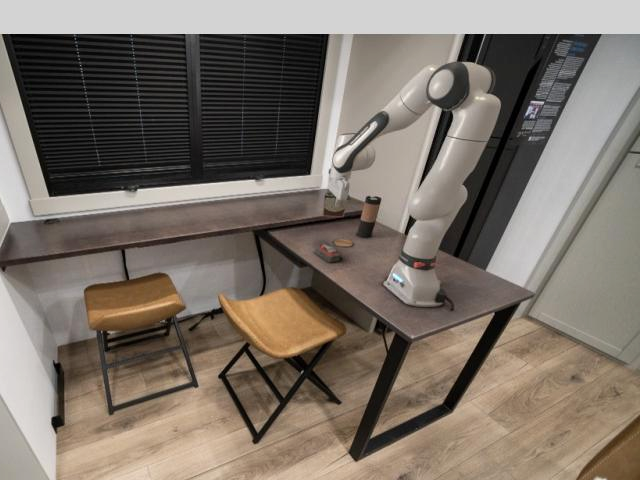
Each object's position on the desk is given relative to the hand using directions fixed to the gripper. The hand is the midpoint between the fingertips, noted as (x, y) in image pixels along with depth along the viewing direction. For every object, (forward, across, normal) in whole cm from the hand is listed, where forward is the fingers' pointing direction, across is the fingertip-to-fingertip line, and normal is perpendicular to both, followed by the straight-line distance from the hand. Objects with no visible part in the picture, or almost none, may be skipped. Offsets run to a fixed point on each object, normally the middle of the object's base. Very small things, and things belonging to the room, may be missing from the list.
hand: (334, 204), depth 146 cm
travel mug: (+20, +11, -23) cm, 33 cm away
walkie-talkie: (+20, -12, +4) cm, 24 cm away
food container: (+5, +1, 0) cm, 5 cm away
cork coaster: (+20, 0, -8) cm, 21 cm away
